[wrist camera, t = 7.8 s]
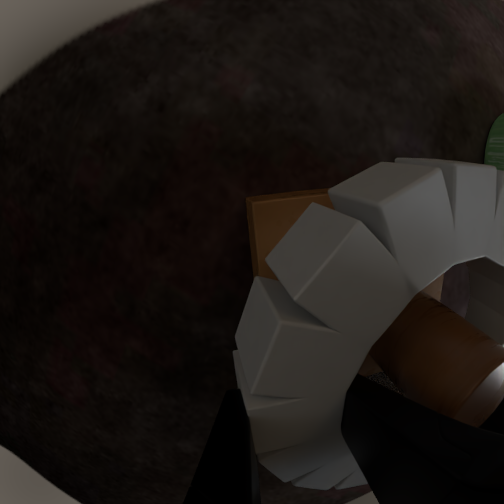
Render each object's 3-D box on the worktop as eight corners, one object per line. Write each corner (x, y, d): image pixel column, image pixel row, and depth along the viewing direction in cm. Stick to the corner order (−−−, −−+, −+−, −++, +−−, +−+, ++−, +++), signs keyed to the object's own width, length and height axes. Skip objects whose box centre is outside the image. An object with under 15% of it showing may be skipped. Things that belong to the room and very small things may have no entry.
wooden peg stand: (429, 181, 13) (584, 220, 5) (414, 340, 15) (509, 429, 7) (244, 196, 11) (359, 287, 3) (264, 383, 14) (320, 534, 6)
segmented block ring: (511, 166, 9) (556, 174, 6) (464, 393, 12) (489, 417, 10) (210, 166, 7) (218, 168, 5) (252, 471, 10) (263, 516, 8)
